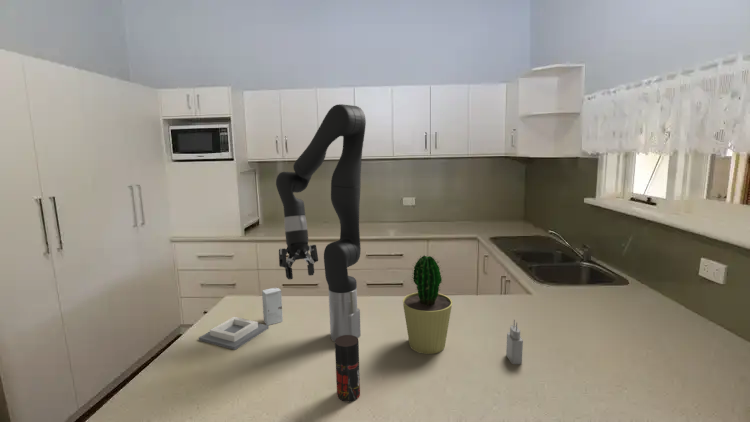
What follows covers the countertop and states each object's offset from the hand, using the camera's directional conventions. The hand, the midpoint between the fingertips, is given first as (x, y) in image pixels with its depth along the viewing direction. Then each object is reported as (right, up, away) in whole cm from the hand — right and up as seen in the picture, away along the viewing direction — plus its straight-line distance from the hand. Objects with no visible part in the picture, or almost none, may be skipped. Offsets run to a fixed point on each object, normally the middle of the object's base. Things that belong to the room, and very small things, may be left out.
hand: (300, 277), depth 131 cm
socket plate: (-23, -20, +2) cm, 31 cm away
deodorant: (+18, -25, -32) cm, 44 cm away
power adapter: (+66, -22, -17) cm, 72 cm away
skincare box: (-12, -18, +11) cm, 25 cm away
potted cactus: (+42, -20, -8) cm, 47 cm away
